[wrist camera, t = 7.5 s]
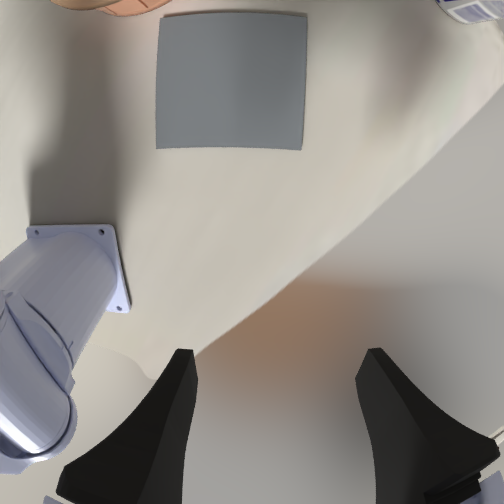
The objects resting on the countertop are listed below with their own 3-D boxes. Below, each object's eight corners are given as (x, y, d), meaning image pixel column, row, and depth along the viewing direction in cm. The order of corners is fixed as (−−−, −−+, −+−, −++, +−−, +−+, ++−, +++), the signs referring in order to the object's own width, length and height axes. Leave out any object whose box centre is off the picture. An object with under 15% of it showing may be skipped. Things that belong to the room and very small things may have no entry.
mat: (158, 148, 17) (156, 148, 16) (161, 20, 12) (160, 18, 12) (300, 149, 17) (301, 150, 16) (305, 19, 13) (306, 17, 12)
